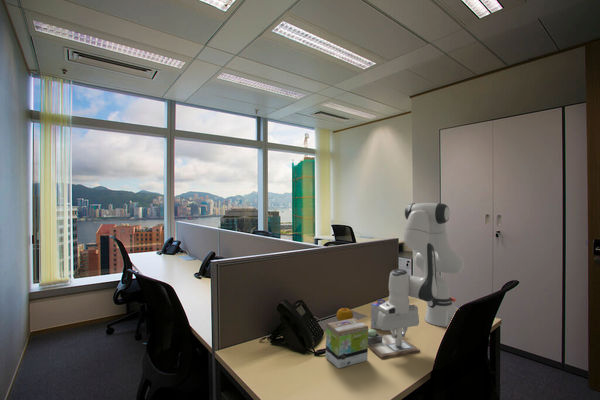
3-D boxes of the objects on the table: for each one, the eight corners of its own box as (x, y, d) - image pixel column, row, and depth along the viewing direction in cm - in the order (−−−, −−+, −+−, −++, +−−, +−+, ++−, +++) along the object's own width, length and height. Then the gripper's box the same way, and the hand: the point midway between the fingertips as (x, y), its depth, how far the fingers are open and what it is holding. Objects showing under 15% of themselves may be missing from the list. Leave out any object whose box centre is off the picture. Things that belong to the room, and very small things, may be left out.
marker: (399, 344, 131) (399, 321, 131) (403, 347, 128) (403, 323, 128) (393, 345, 130) (393, 321, 130) (397, 348, 127) (397, 324, 127)
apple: (341, 329, 149) (342, 312, 150) (333, 323, 158) (333, 306, 158) (356, 326, 153) (356, 309, 153) (346, 320, 161) (347, 304, 162)
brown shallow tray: (394, 334, 144) (394, 326, 144) (419, 352, 127) (419, 342, 127) (359, 339, 138) (359, 331, 138) (380, 358, 121) (380, 349, 121)
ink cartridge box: (391, 327, 153) (391, 300, 153) (390, 331, 147) (390, 303, 148) (372, 324, 156) (372, 297, 157) (370, 328, 151) (370, 300, 152)
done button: (372, 334, 138) (372, 328, 138) (377, 338, 134) (377, 332, 134) (364, 335, 137) (364, 329, 137) (369, 339, 133) (369, 333, 133)
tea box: (338, 370, 112) (339, 332, 113) (325, 357, 121) (325, 322, 122) (368, 360, 119) (368, 325, 120) (353, 350, 128) (353, 316, 129)
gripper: (412, 302, 136) (412, 331, 135) (375, 306, 130) (375, 336, 129) (422, 306, 130) (422, 337, 129) (383, 310, 124) (383, 343, 123)
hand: (398, 337), depth 129 cm, fingers closed on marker, 3 cm apart
